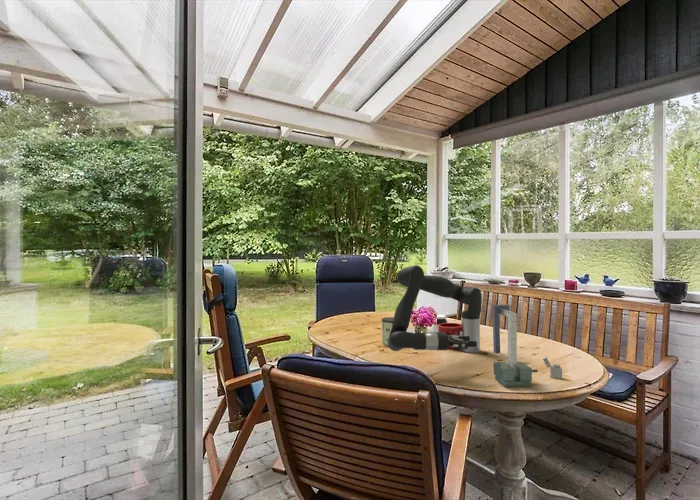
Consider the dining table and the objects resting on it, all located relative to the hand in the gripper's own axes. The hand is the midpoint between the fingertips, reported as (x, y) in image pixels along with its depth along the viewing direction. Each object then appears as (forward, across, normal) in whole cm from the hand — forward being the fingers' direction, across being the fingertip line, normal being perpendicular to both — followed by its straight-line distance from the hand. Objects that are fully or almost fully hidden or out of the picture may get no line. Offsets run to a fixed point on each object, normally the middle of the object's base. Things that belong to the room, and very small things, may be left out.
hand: (472, 341), depth 152 cm
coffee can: (-28, +48, +14) cm, 58 cm away
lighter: (+32, -4, +14) cm, 35 cm away
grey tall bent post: (+15, -5, +14) cm, 21 cm away
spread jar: (+6, +67, +14) cm, 69 cm away
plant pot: (+4, +42, +14) cm, 44 cm away
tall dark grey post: (+13, 0, +5) cm, 14 cm away
